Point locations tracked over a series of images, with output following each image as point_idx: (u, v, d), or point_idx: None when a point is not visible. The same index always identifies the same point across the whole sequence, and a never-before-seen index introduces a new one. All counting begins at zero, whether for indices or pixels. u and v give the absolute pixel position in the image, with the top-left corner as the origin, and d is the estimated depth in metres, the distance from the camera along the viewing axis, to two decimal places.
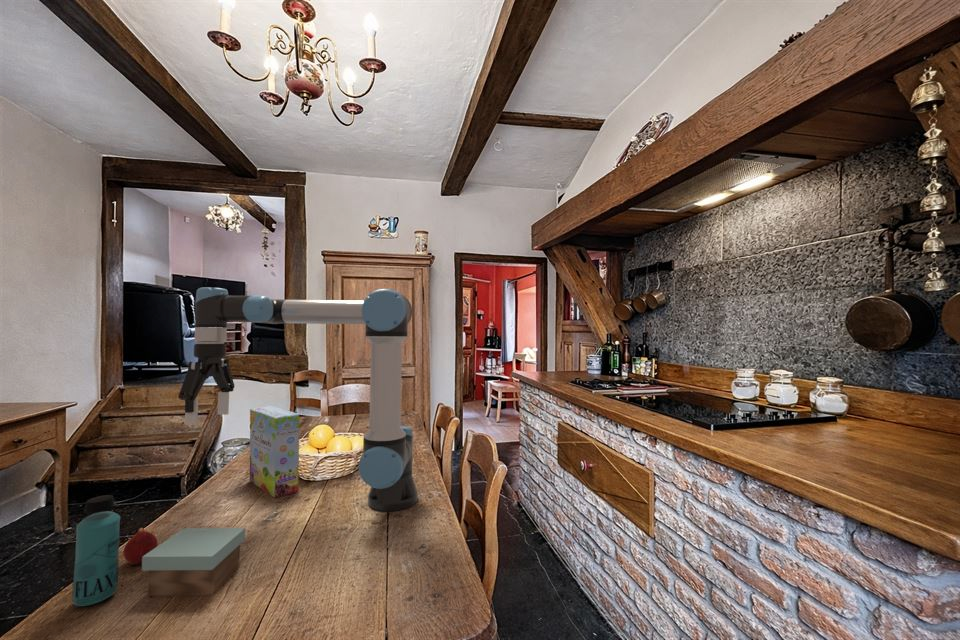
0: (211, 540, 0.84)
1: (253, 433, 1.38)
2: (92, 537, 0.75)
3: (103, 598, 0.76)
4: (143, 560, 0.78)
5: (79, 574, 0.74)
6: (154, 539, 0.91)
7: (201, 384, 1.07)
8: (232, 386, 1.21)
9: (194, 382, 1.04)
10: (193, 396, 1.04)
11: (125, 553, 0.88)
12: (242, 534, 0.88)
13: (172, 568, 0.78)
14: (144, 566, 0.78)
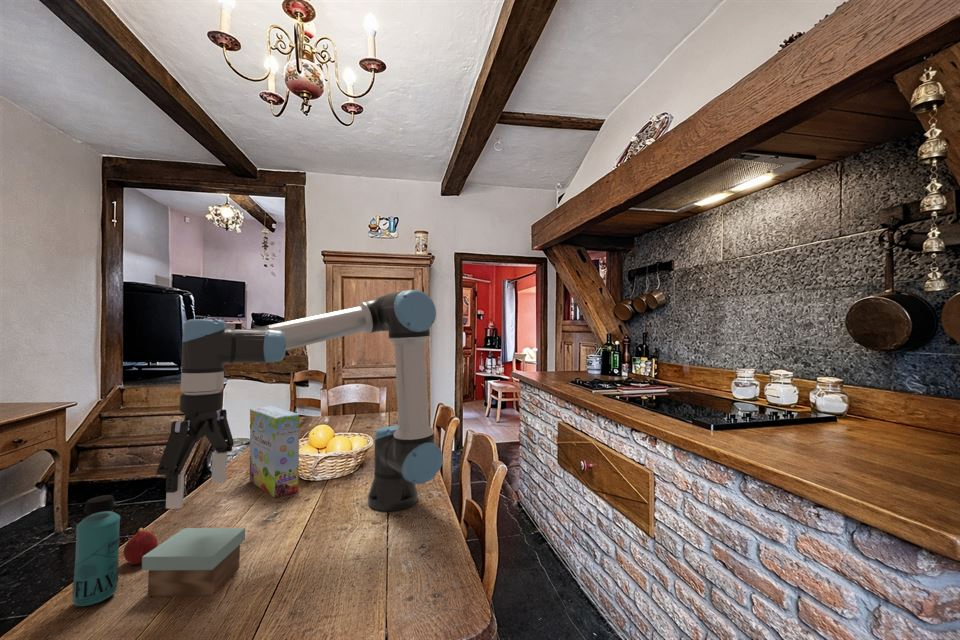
0: (211, 540, 0.84)
1: (253, 433, 1.38)
2: (92, 537, 0.75)
3: (103, 598, 0.76)
4: (143, 560, 0.78)
5: (79, 574, 0.74)
6: (154, 539, 0.91)
7: (189, 451, 0.79)
8: (231, 444, 0.94)
9: (178, 451, 0.77)
10: (177, 470, 0.76)
11: (125, 553, 0.88)
12: (242, 534, 0.88)
13: (172, 568, 0.78)
14: (144, 566, 0.78)
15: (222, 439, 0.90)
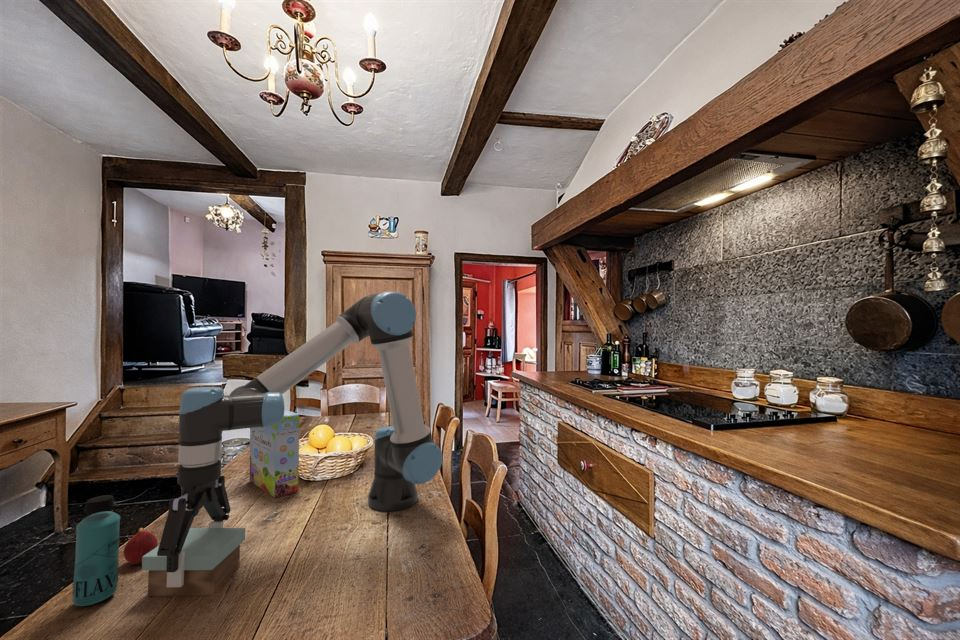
0: (211, 540, 0.84)
1: (253, 433, 1.38)
2: (92, 537, 0.75)
3: (103, 598, 0.76)
4: (143, 560, 0.78)
5: (79, 574, 0.74)
6: (154, 539, 0.91)
7: (188, 527, 0.79)
8: (227, 511, 0.92)
9: (178, 530, 0.76)
10: (178, 549, 0.77)
11: (125, 553, 0.88)
12: (242, 534, 0.88)
13: None
14: (144, 566, 0.78)
15: (219, 508, 0.89)
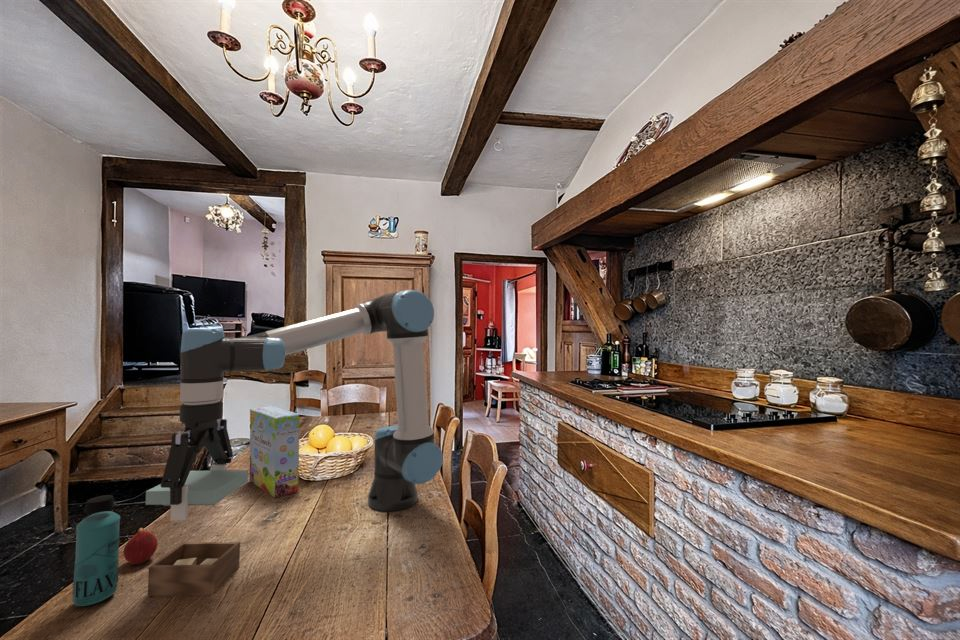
0: (214, 479, 0.85)
1: (253, 433, 1.38)
2: (92, 537, 0.75)
3: (103, 598, 0.76)
4: (147, 494, 0.78)
5: (79, 574, 0.74)
6: (154, 539, 0.91)
7: (191, 462, 0.80)
8: (230, 455, 0.93)
9: (181, 463, 0.77)
10: (181, 482, 0.77)
11: (125, 553, 0.88)
12: (245, 475, 0.89)
13: None
14: (148, 500, 0.78)
15: (222, 450, 0.90)
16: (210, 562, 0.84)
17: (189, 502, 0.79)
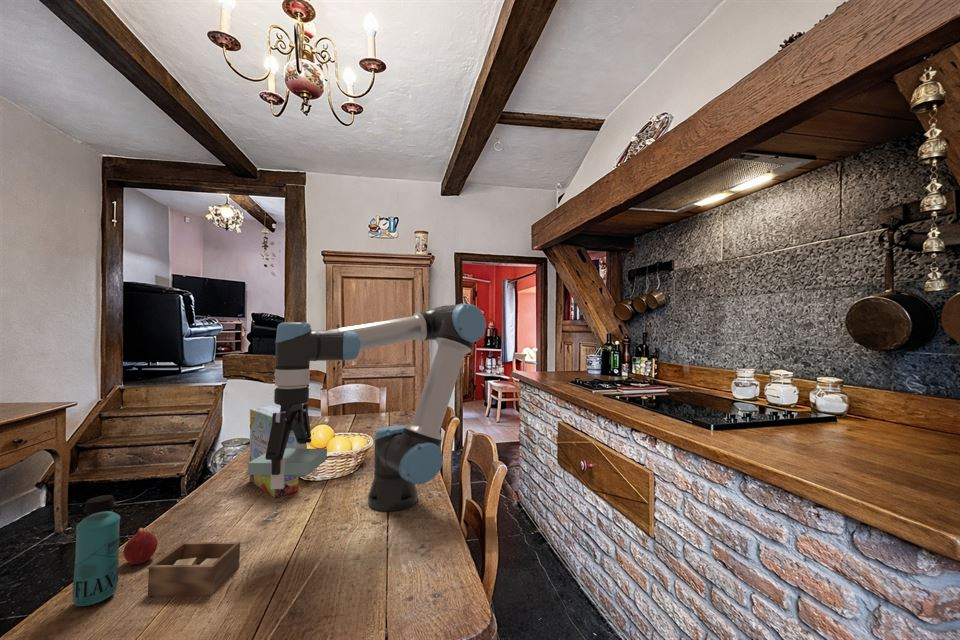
0: (301, 455, 0.96)
1: (253, 433, 1.38)
2: (92, 537, 0.75)
3: (103, 598, 0.76)
4: (249, 466, 0.90)
5: (79, 574, 0.74)
6: (154, 539, 0.91)
7: (287, 439, 0.91)
8: (309, 435, 1.04)
9: (281, 439, 0.88)
10: (280, 455, 0.88)
11: (125, 553, 0.88)
12: (325, 453, 1.00)
13: None
14: (250, 471, 0.90)
15: (304, 430, 1.01)
16: (210, 562, 0.84)
17: (286, 473, 0.90)
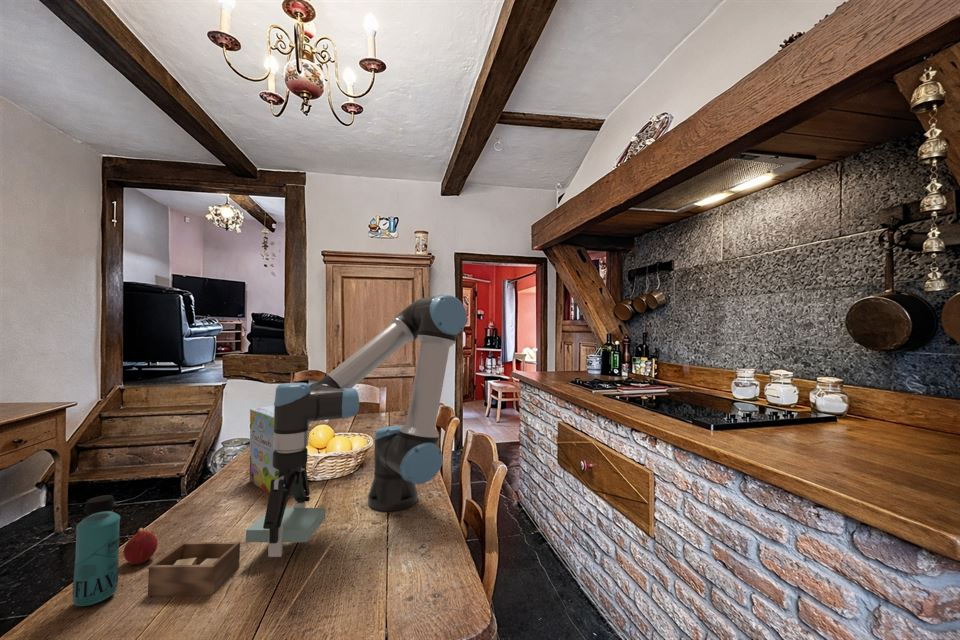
0: (299, 517, 0.95)
1: (253, 433, 1.38)
2: (92, 537, 0.75)
3: (103, 598, 0.76)
4: (247, 533, 0.89)
5: (79, 574, 0.74)
6: (154, 539, 0.91)
7: (285, 504, 0.91)
8: (307, 493, 1.04)
9: (279, 507, 0.88)
10: (278, 523, 0.88)
11: (125, 553, 0.88)
12: (323, 513, 1.00)
13: None
14: (247, 538, 0.89)
15: (303, 490, 1.00)
16: (210, 562, 0.84)
17: (284, 540, 0.89)
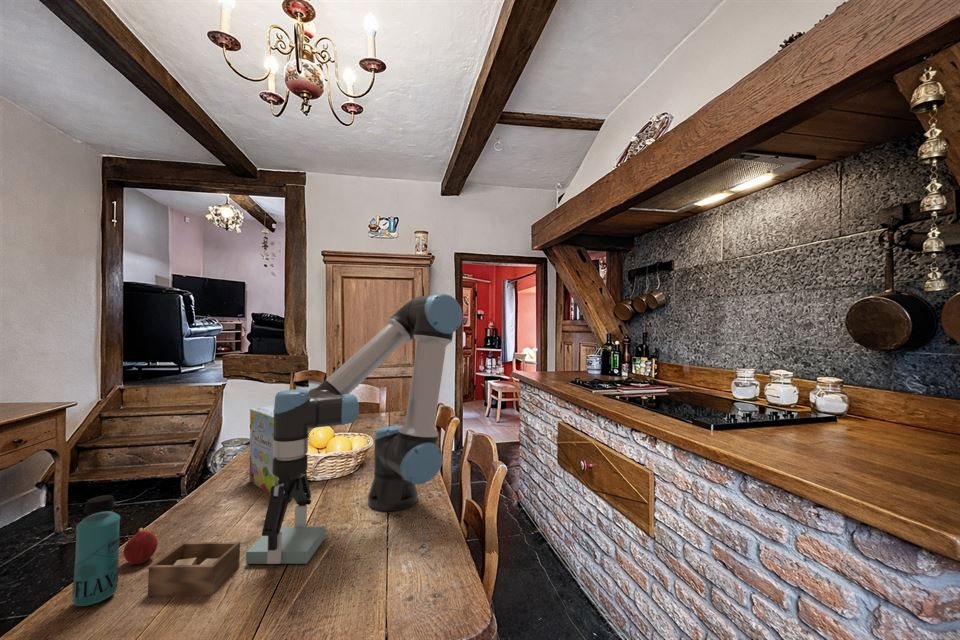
0: (300, 537, 0.95)
1: (253, 433, 1.38)
2: (92, 537, 0.75)
3: (103, 598, 0.76)
4: (247, 555, 0.89)
5: (79, 574, 0.74)
6: (154, 539, 0.91)
7: (284, 511, 0.90)
8: (309, 497, 1.04)
9: (278, 514, 0.87)
10: (277, 530, 0.87)
11: (125, 553, 0.88)
12: (323, 532, 1.00)
13: None
14: (248, 560, 0.89)
15: (304, 494, 1.01)
16: (210, 562, 0.84)
17: (284, 562, 0.89)
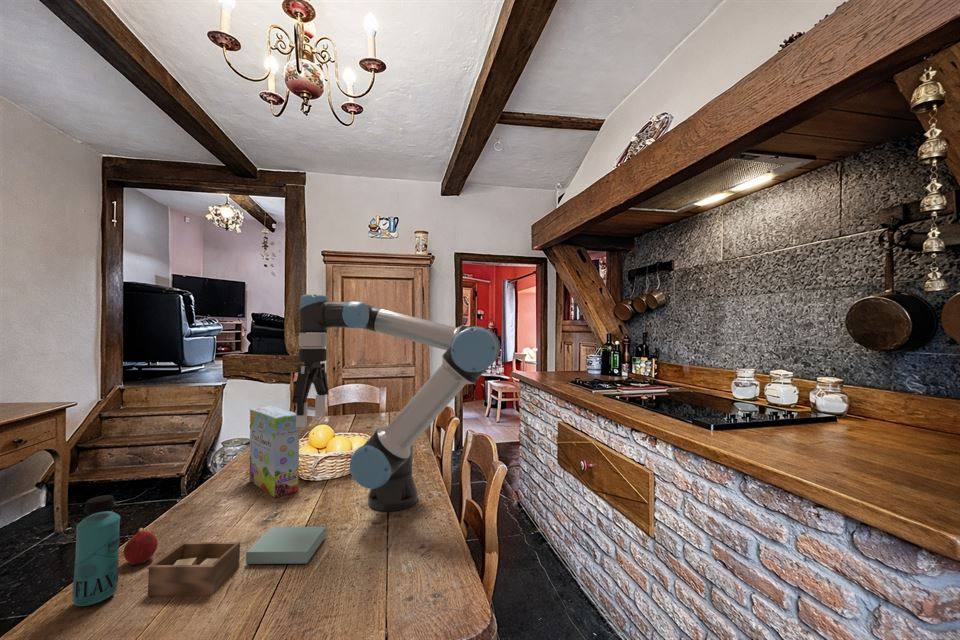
0: (300, 537, 0.95)
1: (253, 433, 1.38)
2: (92, 537, 0.75)
3: (103, 598, 0.76)
4: (247, 555, 0.89)
5: (79, 574, 0.74)
6: (154, 539, 0.91)
7: (309, 388, 1.11)
8: (327, 389, 1.25)
9: (305, 386, 1.08)
10: (304, 399, 1.08)
11: (125, 553, 0.88)
12: (323, 532, 1.00)
13: (272, 562, 0.89)
14: (248, 560, 0.89)
15: (323, 384, 1.22)
16: (210, 562, 0.84)
17: (284, 562, 0.89)
